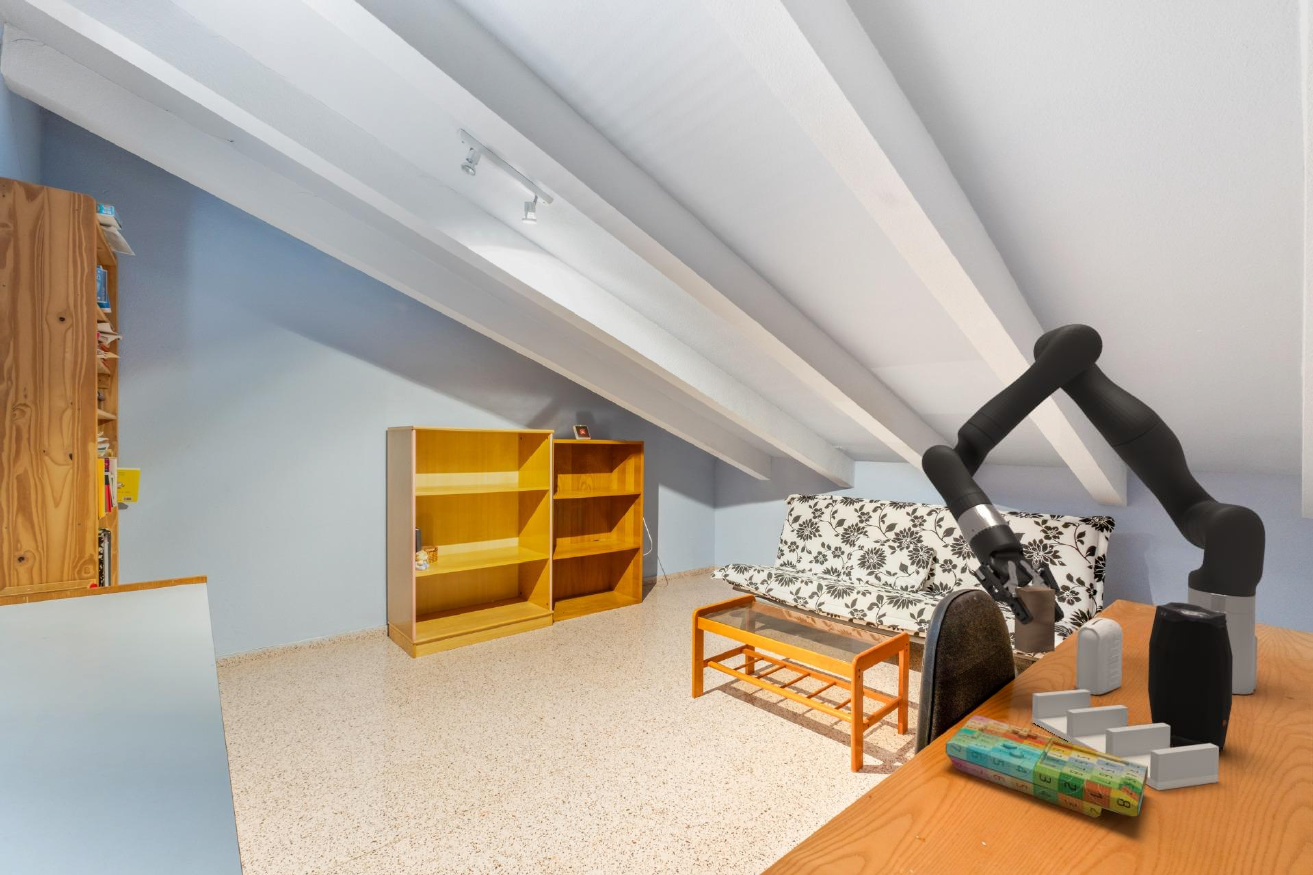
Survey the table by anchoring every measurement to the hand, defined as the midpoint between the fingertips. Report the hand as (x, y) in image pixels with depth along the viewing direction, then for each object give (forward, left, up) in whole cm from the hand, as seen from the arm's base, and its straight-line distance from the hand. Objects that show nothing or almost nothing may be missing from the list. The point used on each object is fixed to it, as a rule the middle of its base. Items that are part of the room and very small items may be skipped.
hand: (1043, 620), depth 101 cm
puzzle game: (+18, +18, -15) cm, 29 cm away
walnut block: (0, -2, -5) cm, 6 cm away
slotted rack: (0, +13, -15) cm, 19 cm away
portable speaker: (-13, +13, -15) cm, 23 cm away
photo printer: (-19, -6, -15) cm, 25 cm away
